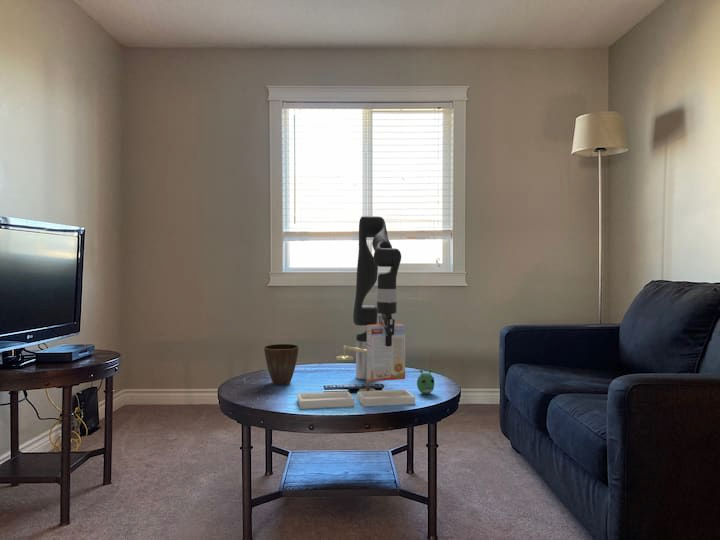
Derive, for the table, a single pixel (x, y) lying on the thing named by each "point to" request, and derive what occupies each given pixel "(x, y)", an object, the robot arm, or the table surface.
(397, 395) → the dish
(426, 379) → the alien toy
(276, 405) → the table surface
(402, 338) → the cracker box
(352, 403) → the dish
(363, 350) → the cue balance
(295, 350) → the plant pot
